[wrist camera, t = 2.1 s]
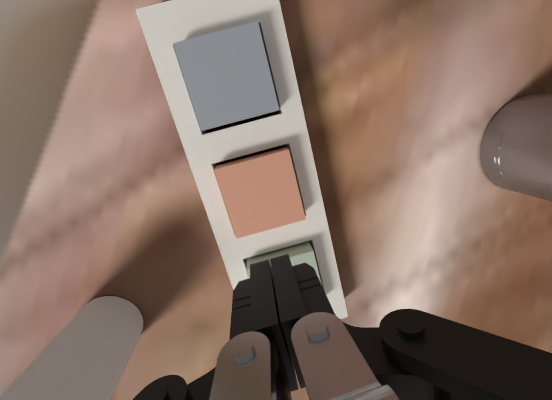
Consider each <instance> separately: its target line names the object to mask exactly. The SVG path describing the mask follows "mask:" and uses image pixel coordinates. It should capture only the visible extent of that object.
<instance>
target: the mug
mask: <svg viewBox="0 0 552 400" xmlns="http://www.w3.org/2000/svg"><path fill="white" fill-rule="evenodd" d="M142 330H143V317H142V315H141V313H140V311H139V310H138V308H137V307H136V306H135V305H134V304H132V303H131V302H130V301H128V300H126V299H123V298H120V297H116V296H103V297H99V298H96V299H93V300H92V301H90V302H88V303H87V304H86V305H85V306H84V307H83V308H82V309H81V310H80V311H79V312H78V313H77V315H76V316H75V317H74V318H73V319H72V320H71V321H70V322H69V323H68V324H67V325H66V326H65V327H64V328H63V329H62V331H61V332H60V333H59V334H58V335H57V336H56V337H55V338H54V339H53V340H52V341H51V343H50V344H49V345H48V346H47V347H46V348H45V349H44V350H43V351H42V352H41V353H40V354H39V355H38V357H37V358H36V359H35V360H34V361H33V362H32V363H31V364H30V365H29V366H28V367H27V368H26V369H25V370H24V372H23V373H22V374H21V375H20V376H19V377H18V378H17V379H16V380H15V381H14V382H13V383H12V384H11V385H10V387H9V388H8V389H7V390H6V391H5V392H4V393H3V394H2V395H1V396H0V400H111V397H112V395H113V393H114V391H115V389H116V387H117V384H118V382H119V380H120V378H121V376H122V374H123V372H124V370H125V367H126V365H127V363H128V361H129V359H130V357H131V355H132V353H133V350H134V348H135V346H136V343H137V341H138V339H139V337H140V335H141V332H142Z"/></svg>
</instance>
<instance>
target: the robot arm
mask: <svg viewBox="0 0 552 400" xmlns="http://www.w3.org/2000/svg"><path fill="white" fill-rule="evenodd" d="M480 159H481V165H482V168H483V170H484V173H485V174H486V176H487V177H488V179H489V180H490V181H491V182H493V183H494V184H495V185H497V186H499V187H502V188H504V189H508V190H511V191H515V192H519V193H523V194H526V195H530V196H534V197H537V198H540V199H544V200H548V201H551V202H552V92H550V93H539V94H529V95H526V96H522V97H519V98H517V99H515V100H513V101H511V102H510V103H508V104H507V105H506V106H504V107H503V108H502V109H501V110H500V111H499V112H498V113H497V114H496V115H495V116H494V118H493V119H492V121H491V122H490V124H489V125H488V127H487V129H486V131H485V133H484V136H483V139H482V143H481V150H480ZM270 262H271V265H270ZM270 262H269V259H268V260H264V261H260V262H257V263H253V264H250V278H249V279H245V280H242V281H239V282H238V284H237V286H236V287H235V289H234V290H233V300H232V301H233V303H232V314H231V327H230V340H229V341H228V342H227V343H226V344H225V345H224V346H223V348H222V349H221V351H220V353H219V355H218V359H217V364H216V367H215V368H214V369H212V370H211V371H210V372H208V373H207V374H205V375H203V376H202V377H200V378H198V379H196V380H195V381H193V382H191V383H190V384H188V385H187V384H186V382H185V380H184V379H183V378H182V377H180V376H178V375H168V376H164V377H161V378H159V379H157V380H155V381H153V382H152V383H150V384H149V385H147V386H146V387H145V388H144V389H143V390H142V391H141V392H140V393H139V394H138V395H137V396H136V397H135V398H134V399H133V400H292V399H291V393H290V392H291V391H294V390H298V384H297V379H296V375H297V378H298V381H299V384H300V388H304V387H306V390H307V394H308V397H309V400H552V353H549V352H546V351H543V350H540V349H537V348H534V347H531V346H528V345H525V344H522V343H519V342H516V341H512V340H509V339H506V338H503V337H500V336H497V335H494V334H491V333H488V332H485V331H482V330H478V329H475V328H472V327H469V326H466V325H463V324H460V323H457V322H454V321H451V320H448V319H445V318H441V317H438V316H435V315H432V314H429V313H426V312H423V311H419V310H414V309H400V310H396V311H393V312H390V313H388V314H387V315H386V316H385V317H384V318H383V319H382V320H381V322H380V326H379V327H378V328H360V327H354V326H350V325H348V324H345V323H344V322H342V321H341V319H339V318H338V317H337V316H336V315H335V313H334V311H333V309H332V307H331V304H330V302H329V300H328V298H327V296H326V293H325V291H324V289H323V287H322V285H321V282H320V280H319V278H318V276H317V274H316V271H315V269H314V268H313V267H312V266H310V265H308V264H307V263H302V264H298V265H295V266H292V264H291V261H290V258H289V254H285V255H282V256H278V257H274V258H271V259H270ZM294 368H295V369H294ZM295 371H296V374H295Z"/></svg>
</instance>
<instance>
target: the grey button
mask: <svg viewBox="0 0 552 400" xmlns="http://www.w3.org/2000/svg"><path fill="white" fill-rule="evenodd" d="M173 45H174V49H175V52H176V55H177V58H178V61H179V64H180V67H181V70H182V73H183V76H184V79H185V82H186V85H187V88H188V91H189V95H190V98H191V101H192V104H193V107H194V110H195V113H196V116H197V119H198V122H199V125H200V128H201V131H204V130H207V129H211V128H215V127H219V126H222V125H226V124H230V123H234V122H237V121H241V120H245V119H248V118H252V117H256V116H260V115H263V114H267V113H271V112H274V111H278V110H279V106H278V102H277V98H276V93H275V89H274V85H273V81H272V77H271V73H270V69H269V64H268V60H267V56H266V52H265V48H264V44H263V40H262V35H261V31H260V27H259V23H258V21H255V22H252V23H248V24H244V25H240V26H236V27H233V28H229V29H225V30H221V31H217V32H214V33H210V34H206V35H202V36H198V37H195V38H191V39H187V40H183V41H179V42H176V43H173Z"/></svg>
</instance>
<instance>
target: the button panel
mask: <svg viewBox="0 0 552 400" xmlns="http://www.w3.org/2000/svg"><path fill="white" fill-rule="evenodd" d="M135 10H136V13H137V16H138V18H139V21H140V24H141V27H142V30H143V33H144V36H145V38H146V41H147V44H148V47H149V50H150V53H151V56H152V58H153V61H154V64H155V67H156V70H157V73H158V76H159V78H160V81H161V84H162V87H163V90H164V93H165V96H166V98H167V101H168V104H169V107H170V110H171V113H172V116H173V118H174V121H175V124H176V127H177V130H178V133H179V136H180V138H181V141H182V144H183V147H184V150H185V153H186V156H187V158H188V161H189V164H190V167H191V170H192V173H193V176H194V178H195V181H196V184H197V187H198V190H199V193H200V196H201V198H202V201H203V204H204V207H205V210H206V213H207V216H208V218H209V221H210V224H211V227H212V230H213V233H214V236H215V238H216V241H217V244H218V247H219V250H220V253H221V256H222V258H223V261H224V264H225V267H226V270H227V273H228V276H229V278H230V281H231V284H232V287H233V290H234V289H235V287H236V286H237V284H238V282H239V281H242V280H245V279H249V276H248V272H247V258H249V257H252V256H256V255H259V254H263V253H267V252H270V251H274V250H277V249H281V248H285V247H288V246H292V245H295V244H299V243H303V242H306V241H310V244H311V247H312V249H313V251H314V255H315V259H316V264H317V268H318V272H319V276H320V280H321V284H322V287H323V289H324V291H325V293H326V296H327V298H328V300H329V302H330V304H331V307H332V309H333V311H334V313H335V315H336V316H337V317H338V318H339V319H342V318H346V317H348V314H347V310H346V305H345V301H344V296H343V291H342V287H341V282H340V278H339V273H338V268H337V264H336V259H335V255H334V250H333V245H332V241H331V236H330V232H329V227H328V222H327V218H326V213H325V209H324V204H323V199H322V195H321V190H320V186H319V181H318V176H317V172H316V167H315V163H314V158H313V153H312V149H311V144H310V140H309V135H308V130H307V126H306V121H305V117H304V112H303V107H302V103H301V98H300V94H299V89H298V84H297V80H296V75H295V71H294V66H293V61H292V57H291V52H290V48H289V43H288V38H287V34H286V29H285V25H284V20H283V15H282V11H281V6H280V2H279V0H170V1H166V2H162V3H158V4H155V5H151V6H147V7H143V8H139V9H135ZM255 21H258V23H259V27H260V31H261V35H262V40H263V44H264V48H265V52H266V56H267V60H268V64H269V69H270V73H271V77H272V81H273V85H274V89H275V93H276V98H277V102H278V106H279V110H278V112H279V114H277V115H273V116H270V117H266V118H262V119H259V120H255V121H251V122H247V123H244V124H240V125H236V126H233V127H229V128H225V129H221V130H218V131H214V132H210V133H206V130H204V131H201V128H200V125H199V122H198V119H197V116H196V113H195V110H194V107H193V104H192V101H191V98H190V95H189V91H188V88H187V85H186V82H185V79H184V76H183V73H182V70H181V67H180V64H179V61H178V58H177V55H176V52H175V49H174V45H173V43H176V42H179V41H183V40H187V39H191V38H195V37H198V36H202V35H206V34H210V33H214V32H217V31H221V30H225V29H229V28H233V27H236V26H240V25H244V24H248V23H252V22H255ZM284 144H286V145H287V148H288V149H289V152H290V156H291V160H292V164H293V168H294V172H295V176H296V181H297V185H298V189H299V193H300V197H301V201H302V205H303V210H304V214H305V218H306V220H302V221H299V222H295V223H292V224H288V225H284V226H281V227H277V228H273V229H270V230H266V231H263V232H259V233H255V234H252V235H248V236H244V237H241V238H237V239H236V236H235V233H234V230H233V226H232V223H231V220H230V217H229V214H228V211H227V208H226V205H225V202H224V199H223V196H222V193H221V190H220V187H219V184H218V180H217V177H216V174H215V171H214V169H215V168H216V166H217V165H216V163H217V162H221V161H225V160H228V159H232V158H236V157H240V156H243V155H247V154H251V153H254V152H258V151H262V150H265V149H269V148H273V147H276V146H280V145H284Z"/></svg>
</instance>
